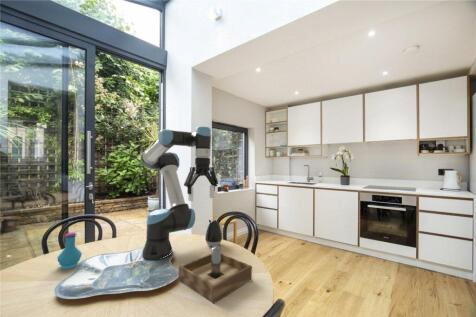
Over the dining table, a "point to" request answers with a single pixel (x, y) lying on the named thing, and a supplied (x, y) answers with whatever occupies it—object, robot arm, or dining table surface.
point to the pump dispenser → (213, 233)
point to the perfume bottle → (69, 253)
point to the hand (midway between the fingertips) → (201, 199)
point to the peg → (216, 262)
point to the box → (208, 287)
